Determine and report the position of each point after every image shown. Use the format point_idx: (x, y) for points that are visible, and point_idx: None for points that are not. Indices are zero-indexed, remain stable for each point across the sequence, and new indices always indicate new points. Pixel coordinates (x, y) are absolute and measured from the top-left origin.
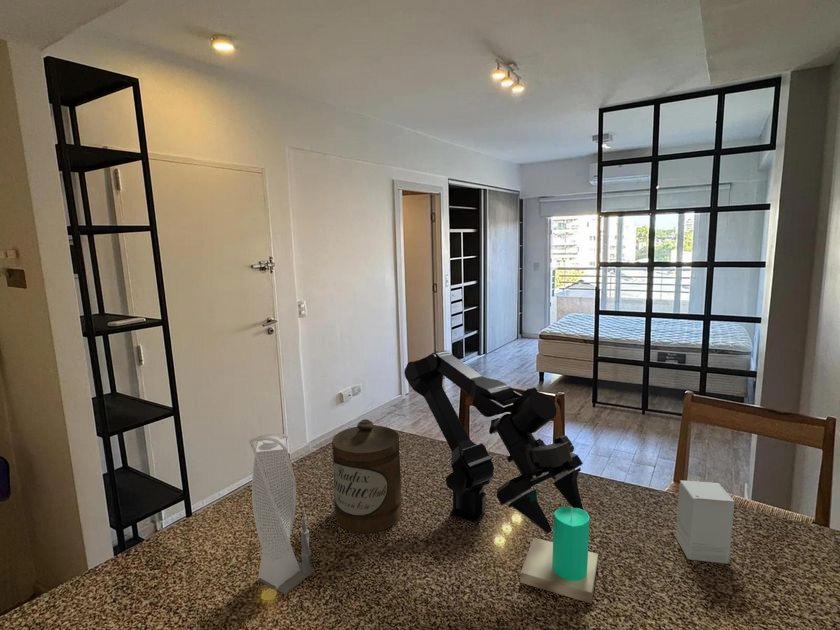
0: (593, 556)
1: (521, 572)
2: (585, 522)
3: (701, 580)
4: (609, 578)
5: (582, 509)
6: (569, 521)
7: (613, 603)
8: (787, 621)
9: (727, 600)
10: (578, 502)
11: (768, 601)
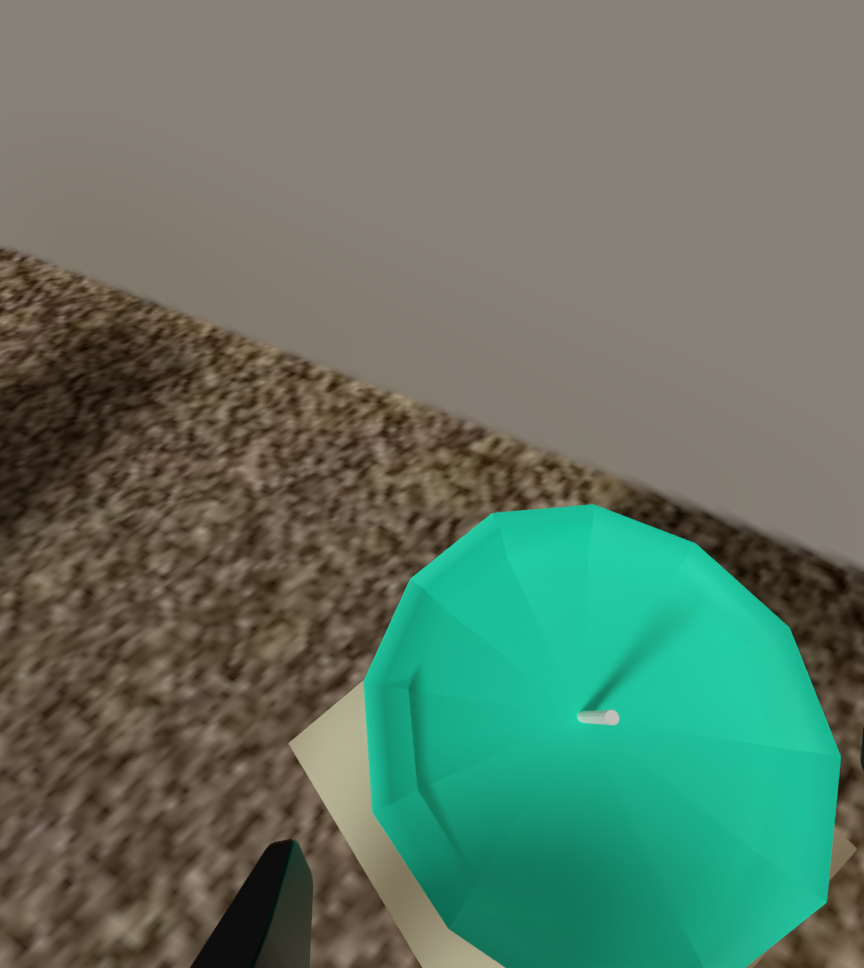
0: (329, 737)
1: (849, 845)
2: (535, 515)
3: (61, 462)
4: (347, 627)
5: (266, 867)
6: (661, 661)
7: (453, 509)
8: (67, 273)
9: (102, 372)
10: (250, 964)
11: (15, 329)
